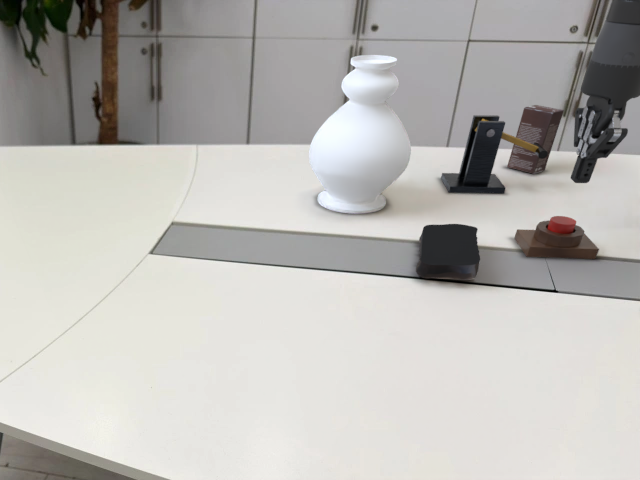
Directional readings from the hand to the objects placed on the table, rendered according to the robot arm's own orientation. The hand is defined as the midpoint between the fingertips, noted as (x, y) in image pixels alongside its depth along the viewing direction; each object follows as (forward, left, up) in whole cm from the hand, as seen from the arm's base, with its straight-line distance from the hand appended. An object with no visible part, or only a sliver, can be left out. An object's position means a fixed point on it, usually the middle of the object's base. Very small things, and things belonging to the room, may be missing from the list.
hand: (579, 181), depth 103 cm
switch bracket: (+6, -29, -11) cm, 31 cm away
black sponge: (+18, +7, -11) cm, 23 cm away
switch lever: (+2, -29, -3) cm, 29 cm away
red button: (0, 0, -8) cm, 8 cm away
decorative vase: (+30, -19, -11) cm, 37 cm away
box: (-7, -40, -11) cm, 42 cm away
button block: (0, 0, -11) cm, 11 cm away
